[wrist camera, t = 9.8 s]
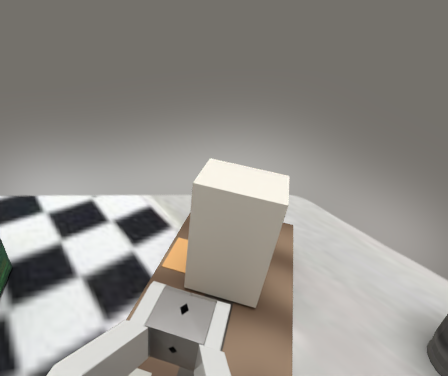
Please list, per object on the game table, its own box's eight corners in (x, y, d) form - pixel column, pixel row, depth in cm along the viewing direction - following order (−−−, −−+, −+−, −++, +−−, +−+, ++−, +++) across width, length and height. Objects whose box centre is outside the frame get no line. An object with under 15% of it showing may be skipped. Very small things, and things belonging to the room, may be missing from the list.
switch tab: (255, 308, 21) (288, 205, 16) (184, 287, 22) (192, 182, 17) (261, 270, 24) (289, 176, 19) (199, 253, 25) (210, 158, 20)
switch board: (274, 659, 11) (291, 664, 9) (16, 540, 12) (-2, 530, 11) (287, 240, 33) (293, 224, 31) (195, 217, 34) (197, 200, 33)
